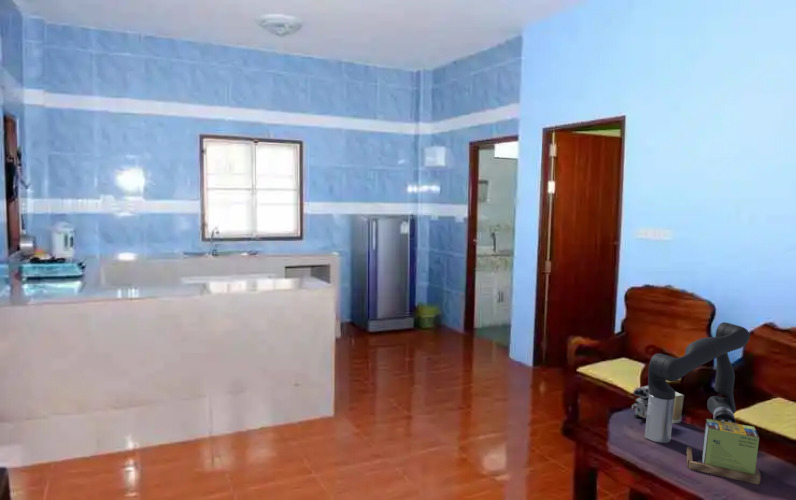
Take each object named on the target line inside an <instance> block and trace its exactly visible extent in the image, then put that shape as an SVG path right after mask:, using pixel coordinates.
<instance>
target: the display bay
mask: <svg viewBox="0 0 796 500" xmlns="http://www.w3.org/2000/svg"><path fill="white" fill-rule="evenodd" d="M686 454H687V456H686V466H687V468H688V470H691V471H696V470H697V471H696V472H700V471H701V473H706V474H709V473H710V475H714V476H718V477H719V476H720V477H723V478H728V479H731V480H736V481H740V482H745V483H750V484H753V485H760V484H761V479H762V476H761V475H762V474H761V472H760V469H759V466H758V464H757V462H756V469H755V475H754V474H749V473H745V472H740V471H736V470H731V469H726V468H722V467H717V466H713V465H708V464H704V463H702V462H699V461H693V449H692V447H691V446H686Z"/></svg>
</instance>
